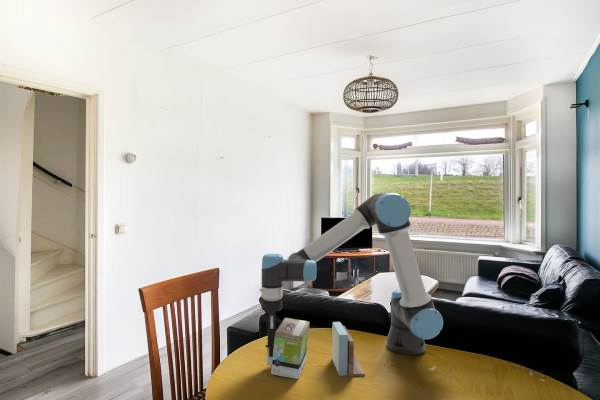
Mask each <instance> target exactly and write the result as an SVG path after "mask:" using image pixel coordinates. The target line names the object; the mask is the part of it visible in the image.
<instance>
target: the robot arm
mask: <svg viewBox="0 0 600 400" xmlns="http://www.w3.org/2000/svg"><path fill="white" fill-rule="evenodd" d="M411 212H412V211H411V205H410V202H409V201H408V200H407V199H406V198H405V197H404V196H403V195H401V194H398V193H395V192H384V193H382V192H380V193H376V194H373V195H371V196H370V197H369V198H367V199H366V200H364V202H362V203H361V204H360V205H358V206H357V207H356V208H354V209H353V213H351V214H350V215H348V216H347V217H345V218H344V219H343V220H341V221H340V222H338V223H337V224H336V225H334V226H333V227H332V228H330V229H329V230H326V231H325V232H324V233H322V234H321V235H320V236H319V237H317V238H315V239H314V240H313V241H311V242H310V243H308V244H307V245H305V246H304V247H302V249H299V251H297V252H293V253H291V254H290V255H289V256H288V258H287V259H284V255H283V254H280V253H266V254H263V256H262V258H261V288H260V289H259V292H261V301H260V309H261V310H262V311H264V312H266V313H265V320H266V328H267V343H266V344H265V348H266V350H267V351H266V352H267V353H266V366H272V359H273V349H274V339H275V332H276V329H277V323H278V322H277V321H278V313H277V312H280V311H281V310H282V309H283V296H284V291H283V289H284V288H283V285H284V284H283V282H306V283H307V282H315V280H316V279H317V272H318V271H317V270H318V269H317V262H318V261H320V260H322V259H323V258H324V257H326V256H327V255H328V254H330V253H332V252H333V251H334V250H335V249H337V248H338V247H340V246H342V245H343V244H345V242H347V241H349V240H350V239H352V238H354V236H356V235H357V234H359V233H360V232H362V231H363V230H365V229H368V230H369V229H370V228H372V227H373V226H375V225H376V227H377V230H378V234H379V235H381V236H383V237H384V240H385V243H386V247H387V250H388V253H389V256H390V261H391V264H392V268H393V270H394V275H395V277H396V280H397V283H398V289H395V290H393V291H391V296H390V307H391V309H390V312H391V313H390V315H391V317H390V328H389V332H388V334H387V337H386V347H387V348H388V349H389V350H390V351H392V352H394V353H398V354H401V355H407V356H415V355H416V356H417V355H421V354H424V353H425V351H426V342H425V340H431V339H433V338H435V337H437V336H438V335H439V334H440V332H441V331H442V329H443V326H444V319H443V316H442V314H441V312H440V311H438V310H437V309H436V308H435V305H434V301H433V297H432V295H431V294H429V293H428V292H427V291H426V289H425V286H424V282H423V279H422V274H421V271H420V267H419V265H418V264H419V263H418V261H417V258H416V254H415V251H414V247H413V245H412V241H411V237H410V233H409V229H410V227H411V221H410V216H411Z"/></svg>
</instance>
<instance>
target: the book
mask: <svg viewBox="0 0 600 400" xmlns="http://www.w3.org/2000/svg"><path fill="white" fill-rule="evenodd" d="M331 326H332V327H331V328H332V332H331V334H332V337H331V343H332V344H331V360H332V362H333V365H334V368H335V367H336V368H335V369H336V370H335V371H336V373H337V374H338V377H340V376H348V373H347V365H348V334H347V332H346V331H345V329H344V327H343V326H344V325H343V324H342V323H341V321H333V322H332V325H331Z"/></svg>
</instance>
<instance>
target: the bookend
mask: <svg viewBox="0 0 600 400" xmlns="http://www.w3.org/2000/svg"><path fill="white" fill-rule="evenodd" d="M342 326H343V327H344V329H345V331H346V332H347V334H348V365H347V376H348V377H351V378H352V377H365V376H366V374H365V371H364V369H363V368H362V365H361V363H360V362H359V360H358V359H357V357H356V355H355V353H354V352H355V351H354V350H355V341H354V340H353V339H354V338H352V336H351V334H350V333H349V331H348V329H347V328H346V326H345V325H342Z"/></svg>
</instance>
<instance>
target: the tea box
mask: <svg viewBox="0 0 600 400" xmlns="http://www.w3.org/2000/svg"><path fill="white" fill-rule="evenodd" d="M309 333H310V321H307V320H301V319H295V318H289V317H284V319H283V320H282V322H281V323H280V324H279V326H277V328H276V329H275V339H274V349H273V359H272V365H271V370H270V373H271V375H275V376H279V377H284V378H289V379H296V380H299V378H300V376H301V373H302V371H303V368H304V366H305V363H306V360H307V356H308V355H307V354H308V353H307V352H308V344H309V335H310V334H309Z"/></svg>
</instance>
